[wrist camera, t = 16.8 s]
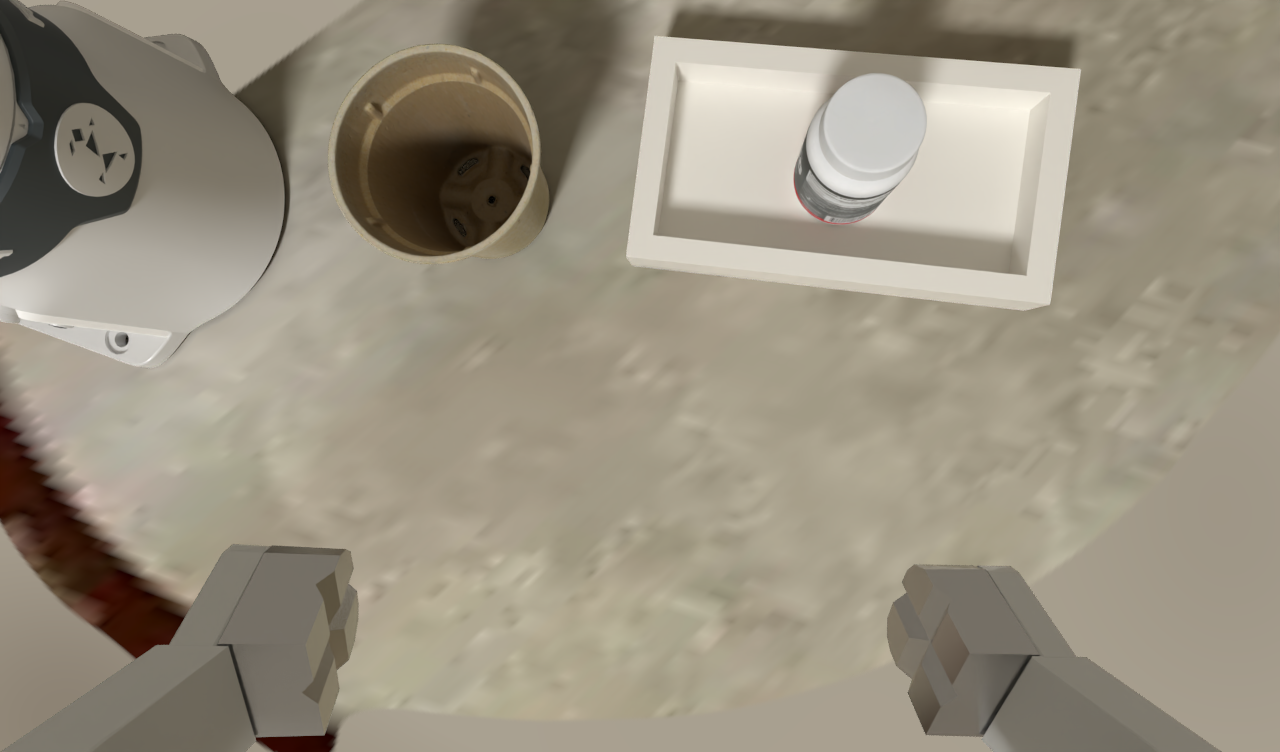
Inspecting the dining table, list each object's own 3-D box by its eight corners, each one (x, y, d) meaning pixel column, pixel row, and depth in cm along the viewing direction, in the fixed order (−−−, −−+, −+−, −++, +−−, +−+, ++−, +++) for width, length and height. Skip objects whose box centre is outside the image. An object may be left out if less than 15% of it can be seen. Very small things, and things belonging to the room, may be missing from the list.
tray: (632, 266, 38) (626, 256, 35) (659, 61, 38) (654, 36, 35) (1024, 310, 36) (1050, 304, 33) (1053, 93, 36) (1081, 69, 33)
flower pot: (524, 321, 39) (469, 303, 30) (381, 237, 40) (288, 197, 31) (611, 169, 38) (580, 107, 30) (464, 88, 39) (394, 5, 31)
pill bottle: (828, 116, 37) (860, 37, 28) (906, 167, 36) (962, 102, 28) (773, 193, 37) (789, 137, 29) (850, 245, 36) (889, 203, 28)
